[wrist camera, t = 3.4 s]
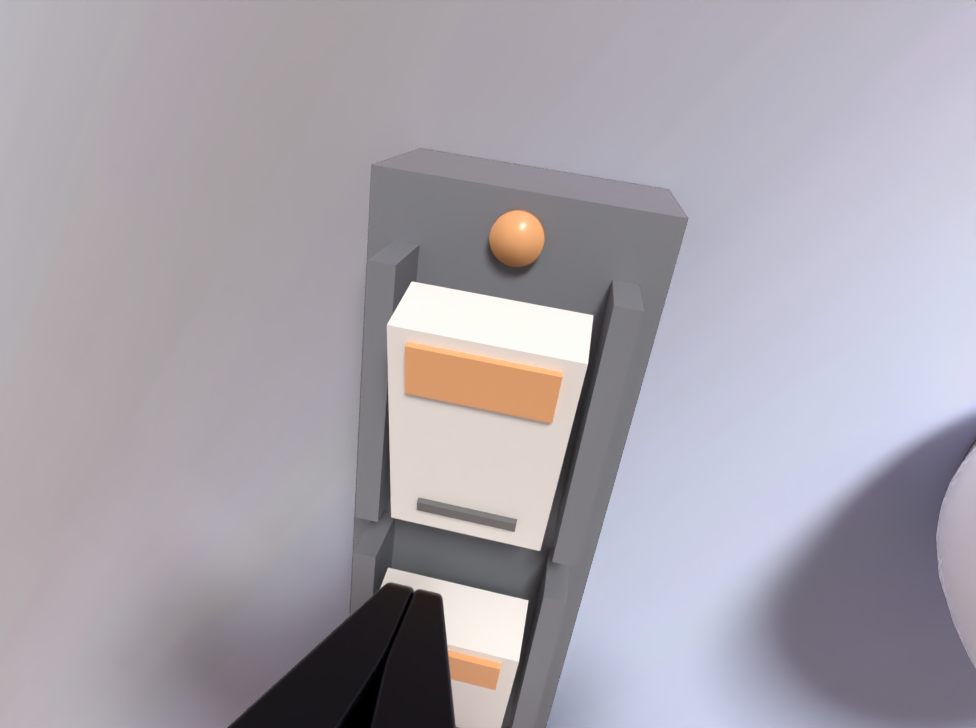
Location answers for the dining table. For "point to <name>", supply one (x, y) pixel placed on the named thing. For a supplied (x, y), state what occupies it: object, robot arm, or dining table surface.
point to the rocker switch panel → (531, 279)
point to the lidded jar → (960, 551)
